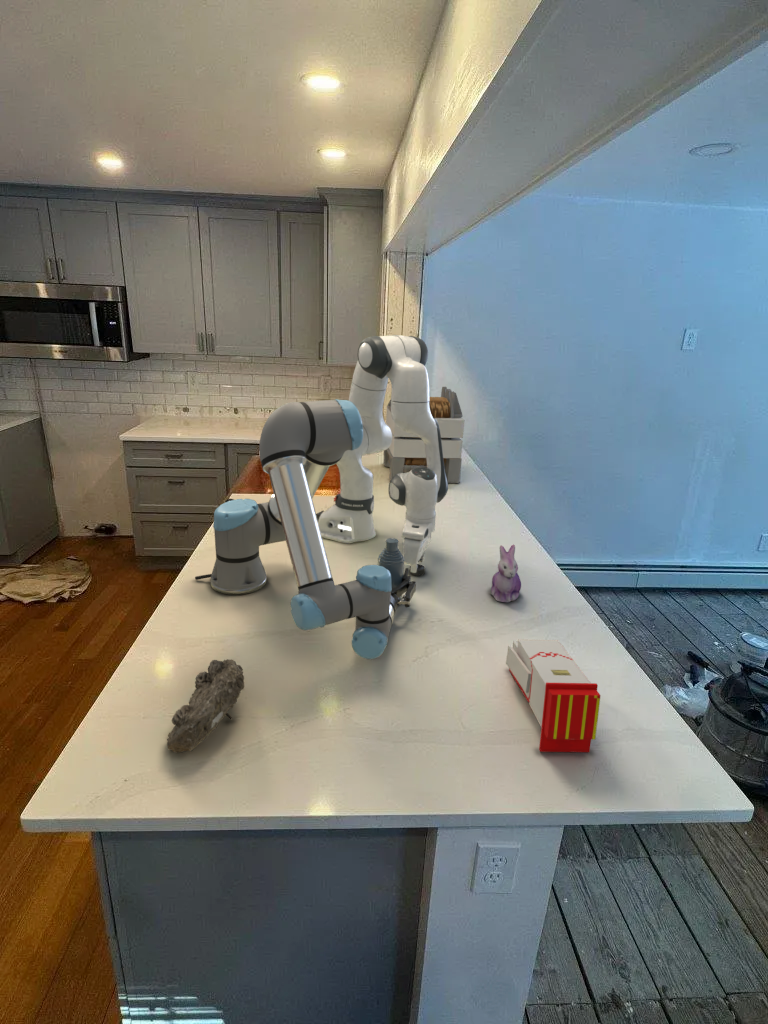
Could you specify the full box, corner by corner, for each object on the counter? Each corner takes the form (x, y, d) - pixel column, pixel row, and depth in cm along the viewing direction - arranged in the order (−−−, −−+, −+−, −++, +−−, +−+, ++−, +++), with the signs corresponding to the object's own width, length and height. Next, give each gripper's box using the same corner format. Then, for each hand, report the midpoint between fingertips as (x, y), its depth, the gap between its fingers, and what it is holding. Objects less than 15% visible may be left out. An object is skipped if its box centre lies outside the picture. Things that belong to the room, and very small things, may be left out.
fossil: (192, 660, 117) (244, 628, 112) (224, 691, 120) (276, 661, 115) (142, 746, 98) (202, 712, 93) (182, 779, 101) (242, 748, 96)
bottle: (401, 606, 151) (405, 546, 145) (375, 605, 151) (378, 544, 145) (401, 594, 158) (405, 535, 152) (376, 592, 158) (379, 534, 152)
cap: (427, 572, 172) (427, 566, 171) (418, 577, 168) (419, 571, 167) (415, 568, 174) (415, 562, 173) (406, 572, 171) (406, 567, 170)
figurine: (503, 606, 153) (510, 556, 148) (480, 590, 162) (486, 542, 156) (530, 600, 157) (537, 550, 152) (507, 584, 166) (513, 537, 161)
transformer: (382, 463, 289) (386, 382, 275) (445, 464, 293) (451, 384, 279) (390, 482, 257) (394, 392, 243) (460, 483, 261) (468, 394, 247)
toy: (554, 622, 128) (610, 691, 98) (548, 677, 130) (601, 759, 101) (501, 621, 127) (541, 690, 98) (496, 676, 130) (534, 758, 101)
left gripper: (338, 620, 138) (356, 579, 160) (419, 630, 136) (427, 587, 157) (338, 593, 136) (357, 554, 157) (421, 602, 133) (429, 562, 154)
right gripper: (418, 510, 176) (415, 551, 181) (400, 533, 157) (397, 578, 162) (438, 513, 174) (434, 554, 179) (422, 537, 156) (419, 582, 160)
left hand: (392, 571), depth 157 cm, fingers closed on bottle, 7 cm apart
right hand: (417, 566), depth 170 cm, fingers open, 6 cm apart
